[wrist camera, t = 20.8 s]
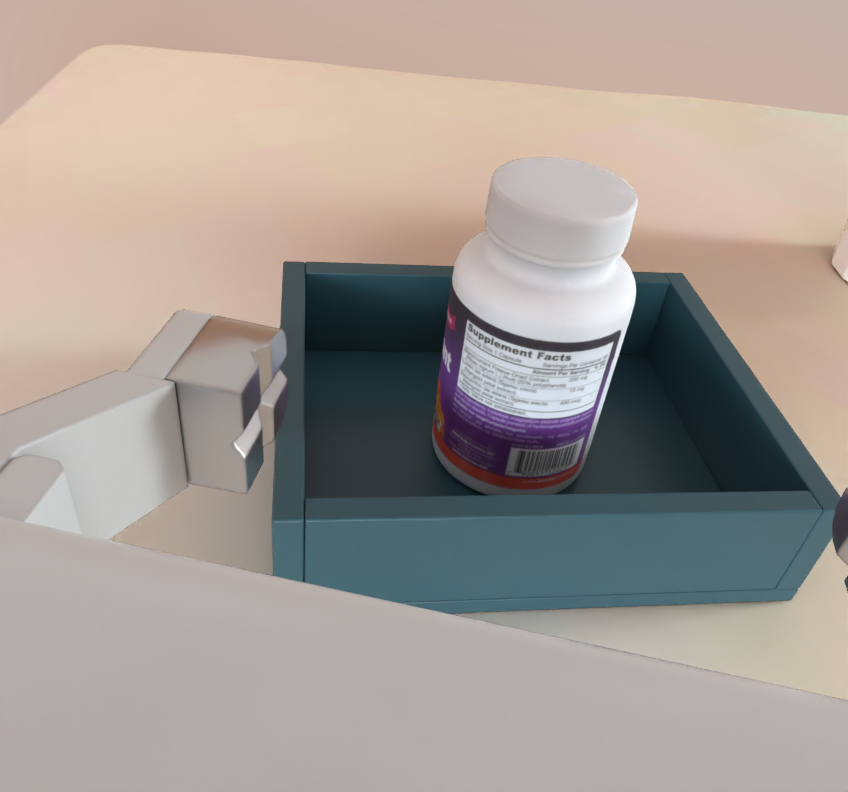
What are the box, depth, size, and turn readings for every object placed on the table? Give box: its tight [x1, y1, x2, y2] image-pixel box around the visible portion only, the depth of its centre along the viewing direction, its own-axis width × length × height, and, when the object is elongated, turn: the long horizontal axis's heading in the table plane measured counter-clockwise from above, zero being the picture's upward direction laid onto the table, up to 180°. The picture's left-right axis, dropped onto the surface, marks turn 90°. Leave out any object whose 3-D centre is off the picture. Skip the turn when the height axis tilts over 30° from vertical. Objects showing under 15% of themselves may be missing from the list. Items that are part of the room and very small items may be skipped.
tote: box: [272, 262, 841, 613], centre depth 26 cm, size 16×13×4 cm
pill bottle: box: [432, 157, 638, 495], centre depth 24 cm, size 5×5×10 cm
